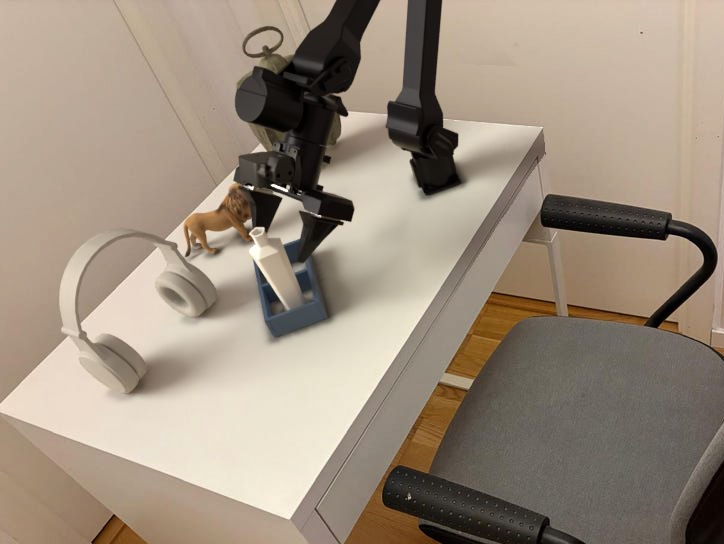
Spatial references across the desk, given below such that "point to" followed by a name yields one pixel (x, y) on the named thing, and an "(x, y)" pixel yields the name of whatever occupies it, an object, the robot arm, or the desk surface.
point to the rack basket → (300, 314)
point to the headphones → (107, 352)
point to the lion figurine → (219, 220)
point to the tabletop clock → (275, 64)
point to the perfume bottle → (276, 268)
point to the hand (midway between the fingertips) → (278, 252)
